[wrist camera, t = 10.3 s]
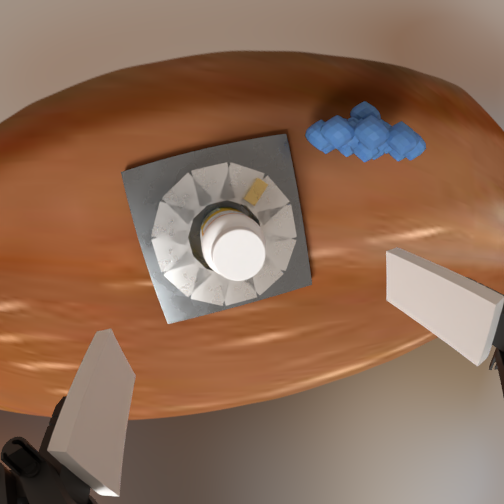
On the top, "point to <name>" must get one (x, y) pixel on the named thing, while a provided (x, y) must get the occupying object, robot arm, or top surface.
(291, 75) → the top surface
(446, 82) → the top surface
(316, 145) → the grapes
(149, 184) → the hub plate
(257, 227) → the supplement bottle
